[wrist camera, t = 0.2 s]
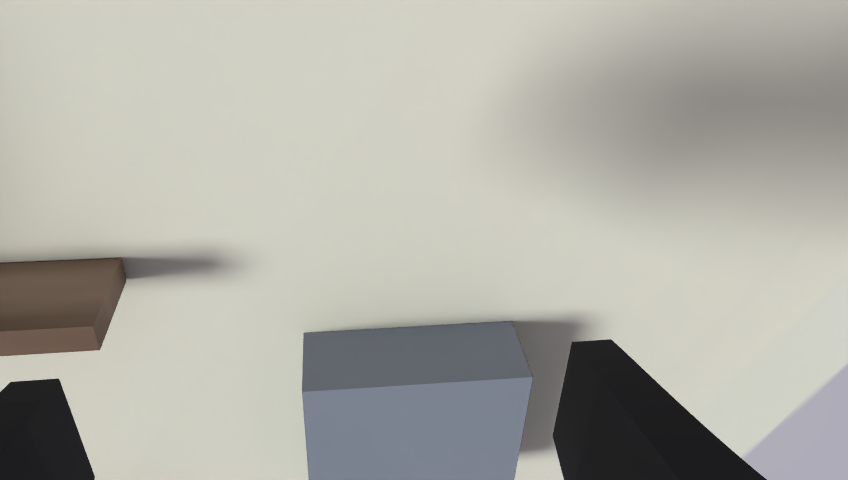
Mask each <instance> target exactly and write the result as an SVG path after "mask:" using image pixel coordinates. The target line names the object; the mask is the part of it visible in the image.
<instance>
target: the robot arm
mask: <svg viewBox="0 0 848 480" xmlns="http://www.w3.org/2000/svg"><path fill="white" fill-rule="evenodd" d="M553 438H554V442H555V446H556V450H557V454H558V458H559V462H560V466H561V470H562V473H563V477H564V480H766V479H765V478H764V477H763V476H761V475H760V474H759V473H758V472H757V471H755V470H754V469H753V468H752V467H751V466H750V465H748V464H747V463H746V462H745V461H744V460H742V459H741V458H740V457H739V456H738V455H737V454H735V453H734V452H733V451H732V450H731V449H730V448H728V447H727V446H726V445H725V444H724V443H723V442H722V441H720V440H719V439H718V438H717V437H716V436H715V435H714V434H713V433H711V432H710V431H709V430H708V429H707V428H706V427H705V426H704V425H702V424H701V423H700V422H699V421H698V420H697V419H696V418H695V417H694V416H693V415H691V414H690V413H689V412H688V411H687V410H686V409H685V408H684V407H683V406H682V405H681V404H680V403H678V402H677V401H676V400H675V399H674V398H673V397H672V396H671V395H670V394H669V393H668V392H667V391H666V390H664V389H663V388H662V387H661V386H660V385H659V384H658V383H657V382H656V381H655V380H654V379H653V378H652V377H651V376H650V375H649V374H647V373H646V372H645V371H644V370H643V369H642V368H641V367H640V366H639V365H638V364H637V363H636V362H635V361H634V360H633V359H632V358H631V357H630V356H628V355H627V354H626V353H625V352H624V351H623V350H622V349H621V348H620V347H619V346H618V345H617V344H615V343H614V342H613V341H612V340H611V339H610V340H596V341H582V342H572V344H571V349H570V354H569V359H568V364H567V369H566V374H565V378H564V383H563V388H562V393H561V398H560V403H559V408H558V412H557V417H556V422H555V427H554V432H553ZM94 478H95V476H94V473H93V471H92V468H91V465H90V462H89V460H88V457H87V454H86V452H85V449H84V446H83V443H82V441H81V438H80V435H79V432H78V430H77V427H76V424H75V421H74V419H73V416H72V413H71V410H70V408H69V405H68V402H67V399H66V397H65V394H64V391H63V389H62V386H61V383H60V380H59V379H47V380H33V381H19V382H10V383H9V384H8V385H7V386H6V387H5V388H4V389H3V390H2V391H1V392H0V480H94Z"/></svg>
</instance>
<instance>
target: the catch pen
mask: <svg viewBox="0 0 848 480" xmlns="http://www.w3.org/2000/svg"><path fill="white" fill-rule="evenodd" d="M125 283H126V277H125V273H124V269H123V265H122V261H121V258H114V259H91V260H68V261H45V262H22V263H0V356H11V355H27V354H43V353H60V352H76V351H92V350H100V348H101V346H102V343H103V340H104V338H105V335H106V333H107V330H108V327H109V325H110V322H111V319H112V317H113V314H114V312H115V309H116V306H117V304H118V301H119V298H120V296H121V293H122V291H123V288H124V285H125Z"/></svg>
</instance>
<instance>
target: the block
mask: <svg viewBox="0 0 848 480" xmlns="http://www.w3.org/2000/svg"><path fill="white" fill-rule="evenodd" d="M532 379H533V376H532V373H531V371H530V368H529V365H528V363H527V360H526V357H525V354H524V352H523V349H522V346H521V344H520V341H519V338H518V336H517V333H516V330H515V328H514V325H513V322H512V321H502V322H485V323H467V324H450V325H432V326H415V327H398V328H380V329H363V330H345V331H328V332H310V333H304V341H303V379H302V397H303V410H304V423H305V436H306V449H307V462H308V475H309V480H514V478H515V472H516V467H517V461H518V456H519V450H520V445H521V439H522V434H523V428H524V423H525V418H526V412H527V407H528V401H529V396H530V390H531V385H532Z"/></svg>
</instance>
